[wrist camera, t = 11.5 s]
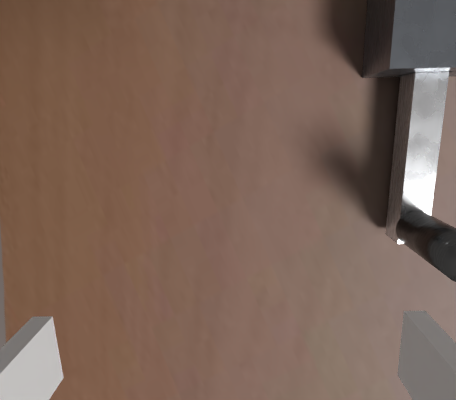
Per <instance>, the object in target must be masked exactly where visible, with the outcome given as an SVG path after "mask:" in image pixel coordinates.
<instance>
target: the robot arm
mask: <svg viewBox="0 0 456 400" xmlns="http://www.w3.org/2000/svg"><path fill="white" fill-rule="evenodd" d="M398 376H399V378H400V380H401V381H402V383H403V385H404V386H405V388H406V389H407V391H408V393H409V394H410V396H411V398H412V399H413V400H456V343H455V342H454V341H453V340H452V338H451V337H450V336H449V335H448V334H447V333H446V332H445V331H444V330H443V329H442V328H441V327H440V326H439V325H438V324H437V323H436V322H435V321H434V320H433V318H432V317H431V316H430V315H429V314H428V313H427V312H426V311H404V315H403V325H402V335H401V345H400V355H399V365H398ZM62 379H63V373H62V367H61V361H60V356H59V350H58V345H57V339H56V333H55V328H54V322H53V317H32V318H31V319H30V320H29V321H28V322H27V323H26V324H25V325H24V326H23V327H22V328H21V329H20V330H19V331H18V332H17V333H16V334H15V335H14V336H13V337H12V338H11V339H10V340H9V341H8V342H7V343H6V344H5V345H4V346H3V347H2V348H1V349H0V400H49V399H50V397H51V396H52V394H53V393H54V391H55V390H56V388H57V387H58V385H59V384H60V382H61V381H62Z"/></svg>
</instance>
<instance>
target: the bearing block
mask: <svg viewBox="0 0 456 400" xmlns="http://www.w3.org/2000/svg"><path fill="white" fill-rule="evenodd" d="M435 71H449V76H456V0H368V1H367V15H366V29H365V43H364V57H363V72H362V78H382V77H400V76H401V75H404V74H408V73H411V72H435Z"/></svg>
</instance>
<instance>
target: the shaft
mask: <svg viewBox="0 0 456 400" xmlns="http://www.w3.org/2000/svg"><path fill="white" fill-rule="evenodd" d="M448 76H449V71H435V72H411V73H408V74H404V75H401V76H400V87H399V98H398V108H397V119H396V129H395V140H394V150H393V161H392V171H391V182H390V192H389V203H388V213H387V224H386V235H387V236H388V237H390V238H391V239H392V240H393V241H395V242H396V243H397V244H405V245H406V246H408V247H409V248H410V249H412V250H413V251H414V252H416V253H417V254H418V255H420V256H421V257H422V258H424V259H425V260H426V261H427V262H429V263H430V264H431V265H433V266H434V267H435V268H437V269H438V270H439V271H441V272H442V273H443V274H445V275H446V276H447V277H448V278H450V279H451V280H453V281H455V282H456V228H454V227H452V226H450V225H448V224H446V223H444V222H442V221H440V220H438V219H436V218H434V217H432V216H431V212H432V204H433V196H434V188H435V180H436V172H437V164H438V156H439V148H440V140H441V132H442V124H443V116H444V108H445V100H446V92H447V84H448Z"/></svg>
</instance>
